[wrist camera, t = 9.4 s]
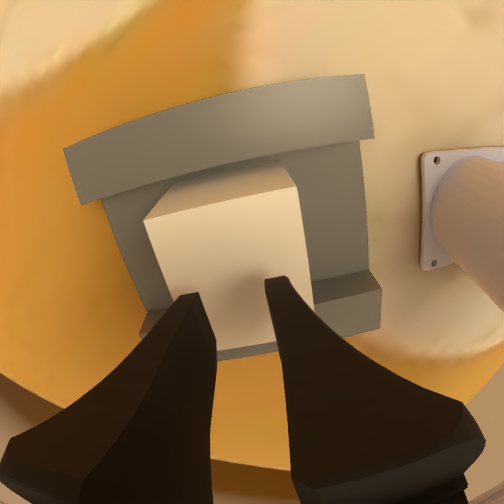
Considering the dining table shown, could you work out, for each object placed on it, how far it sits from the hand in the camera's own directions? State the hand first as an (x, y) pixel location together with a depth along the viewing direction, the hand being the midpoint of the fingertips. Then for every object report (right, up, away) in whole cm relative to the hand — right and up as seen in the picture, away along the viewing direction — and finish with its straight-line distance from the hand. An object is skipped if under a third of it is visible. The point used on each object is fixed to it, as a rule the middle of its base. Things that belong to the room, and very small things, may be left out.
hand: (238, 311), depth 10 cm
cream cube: (0, +4, +7) cm, 8 cm away
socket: (0, +4, +7) cm, 8 cm away
